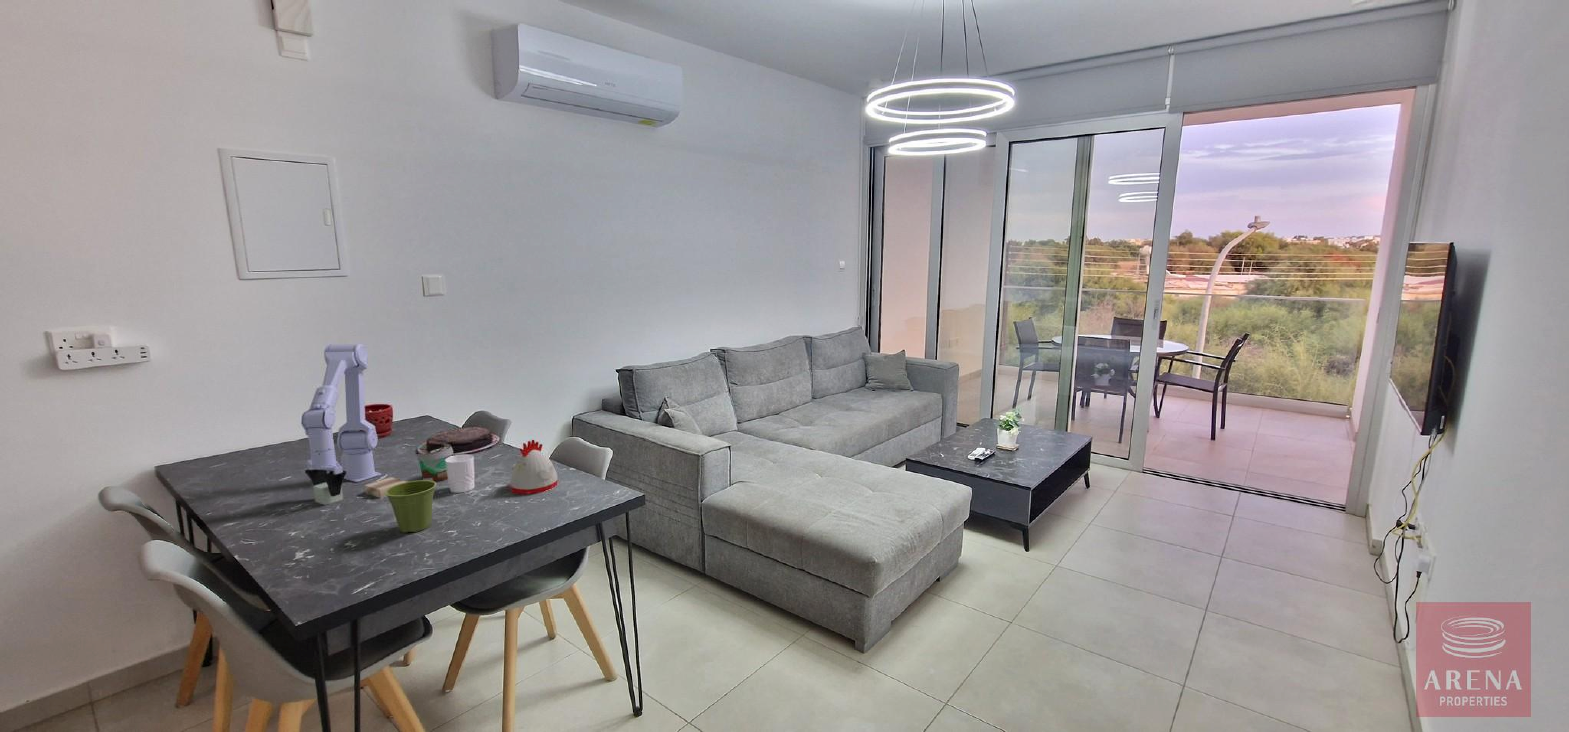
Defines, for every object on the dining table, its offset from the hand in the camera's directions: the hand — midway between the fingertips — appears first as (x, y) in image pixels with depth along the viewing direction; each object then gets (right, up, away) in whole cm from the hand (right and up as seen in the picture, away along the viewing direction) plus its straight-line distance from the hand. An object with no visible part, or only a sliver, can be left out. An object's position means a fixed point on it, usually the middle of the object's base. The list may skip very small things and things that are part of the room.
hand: (328, 493), depth 185 cm
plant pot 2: (+36, -6, -18) cm, 41 cm away
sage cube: (0, -2, +1) cm, 2 cm away
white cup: (+35, -1, +9) cm, 36 cm away
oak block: (+13, -1, +7) cm, 15 cm away
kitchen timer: (+56, 0, +12) cm, 58 cm away
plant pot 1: (-29, +9, +66) cm, 73 cm away
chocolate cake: (+11, +7, +53) cm, 55 cm away
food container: (+24, +1, +18) cm, 30 cm away
